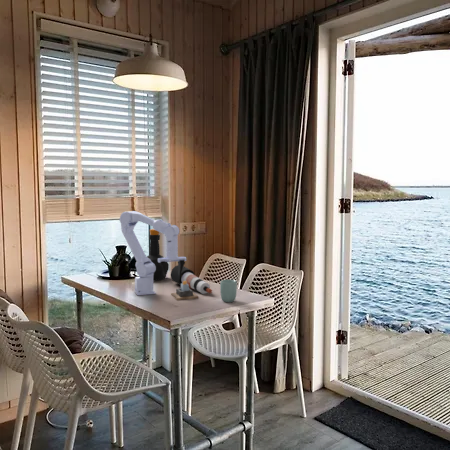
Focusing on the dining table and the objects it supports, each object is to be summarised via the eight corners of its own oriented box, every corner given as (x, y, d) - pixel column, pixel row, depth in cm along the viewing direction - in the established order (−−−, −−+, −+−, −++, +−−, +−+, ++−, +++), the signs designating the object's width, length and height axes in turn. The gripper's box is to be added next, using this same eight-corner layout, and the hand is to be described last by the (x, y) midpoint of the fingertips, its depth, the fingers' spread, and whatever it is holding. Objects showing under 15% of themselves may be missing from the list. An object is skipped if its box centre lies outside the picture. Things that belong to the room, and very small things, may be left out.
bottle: (135, 278, 266) (135, 229, 264) (158, 275, 278) (158, 227, 275) (150, 282, 255) (150, 231, 252) (173, 279, 266) (173, 229, 263)
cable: (206, 304, 225) (199, 289, 221) (174, 285, 253) (167, 271, 248) (221, 293, 230) (215, 278, 225) (188, 275, 257) (182, 261, 253)
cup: (229, 298, 221) (229, 278, 220) (239, 301, 215) (239, 281, 214) (217, 301, 215) (217, 280, 215) (227, 304, 210) (227, 283, 209)
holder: (176, 300, 216) (176, 293, 216) (171, 295, 226) (171, 288, 226) (198, 298, 220) (198, 291, 220) (191, 293, 231) (191, 286, 230)
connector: (182, 296, 221) (183, 282, 220) (180, 294, 224) (180, 280, 224) (188, 295, 222) (188, 281, 221) (186, 293, 225) (186, 280, 225)
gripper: (159, 250, 217) (160, 278, 218) (188, 249, 222) (188, 276, 223) (156, 249, 223) (156, 275, 224) (184, 247, 228) (184, 273, 230)
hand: (172, 275), depth 224 cm, fingers open, 7 cm apart
